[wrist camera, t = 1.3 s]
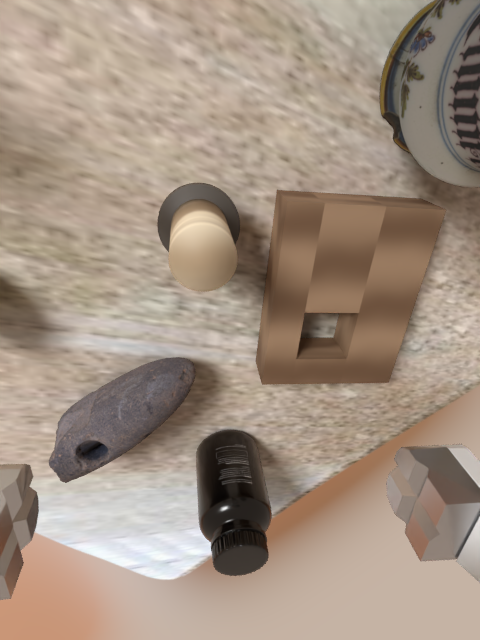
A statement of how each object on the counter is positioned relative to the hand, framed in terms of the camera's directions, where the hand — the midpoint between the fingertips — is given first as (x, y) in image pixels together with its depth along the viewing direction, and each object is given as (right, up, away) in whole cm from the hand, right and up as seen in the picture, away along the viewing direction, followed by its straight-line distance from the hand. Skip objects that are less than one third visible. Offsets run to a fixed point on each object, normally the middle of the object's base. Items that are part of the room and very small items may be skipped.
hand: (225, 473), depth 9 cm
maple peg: (-3, +12, +22) cm, 25 cm away
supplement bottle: (-1, -11, +35) cm, 37 cm away
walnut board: (+8, +6, +26) cm, 28 cm away
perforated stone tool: (-10, -3, +29) cm, 31 cm away
